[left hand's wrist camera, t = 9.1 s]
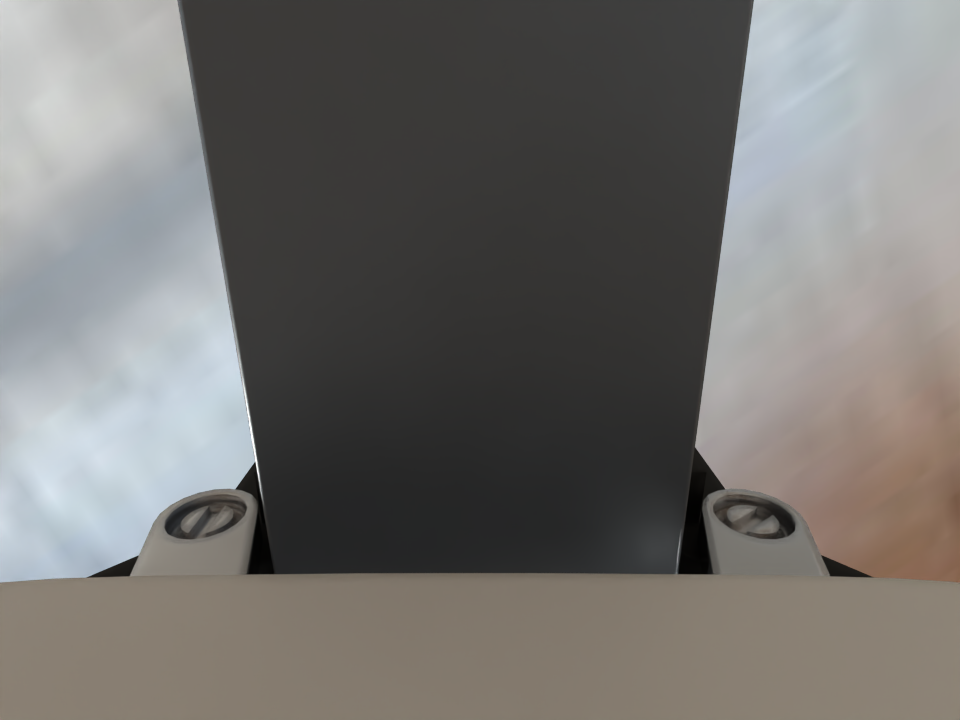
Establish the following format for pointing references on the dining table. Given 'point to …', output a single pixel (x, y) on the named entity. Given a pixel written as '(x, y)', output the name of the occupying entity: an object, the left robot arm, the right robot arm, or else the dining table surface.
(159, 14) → the dining table surface
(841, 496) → the dining table surface
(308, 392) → the beam
